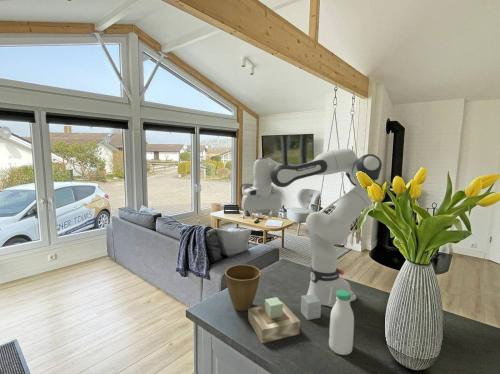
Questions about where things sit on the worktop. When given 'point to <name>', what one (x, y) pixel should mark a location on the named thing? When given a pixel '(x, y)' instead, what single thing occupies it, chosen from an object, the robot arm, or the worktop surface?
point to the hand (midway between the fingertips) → (261, 218)
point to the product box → (310, 306)
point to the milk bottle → (341, 324)
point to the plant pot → (242, 285)
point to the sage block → (273, 307)
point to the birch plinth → (273, 324)
